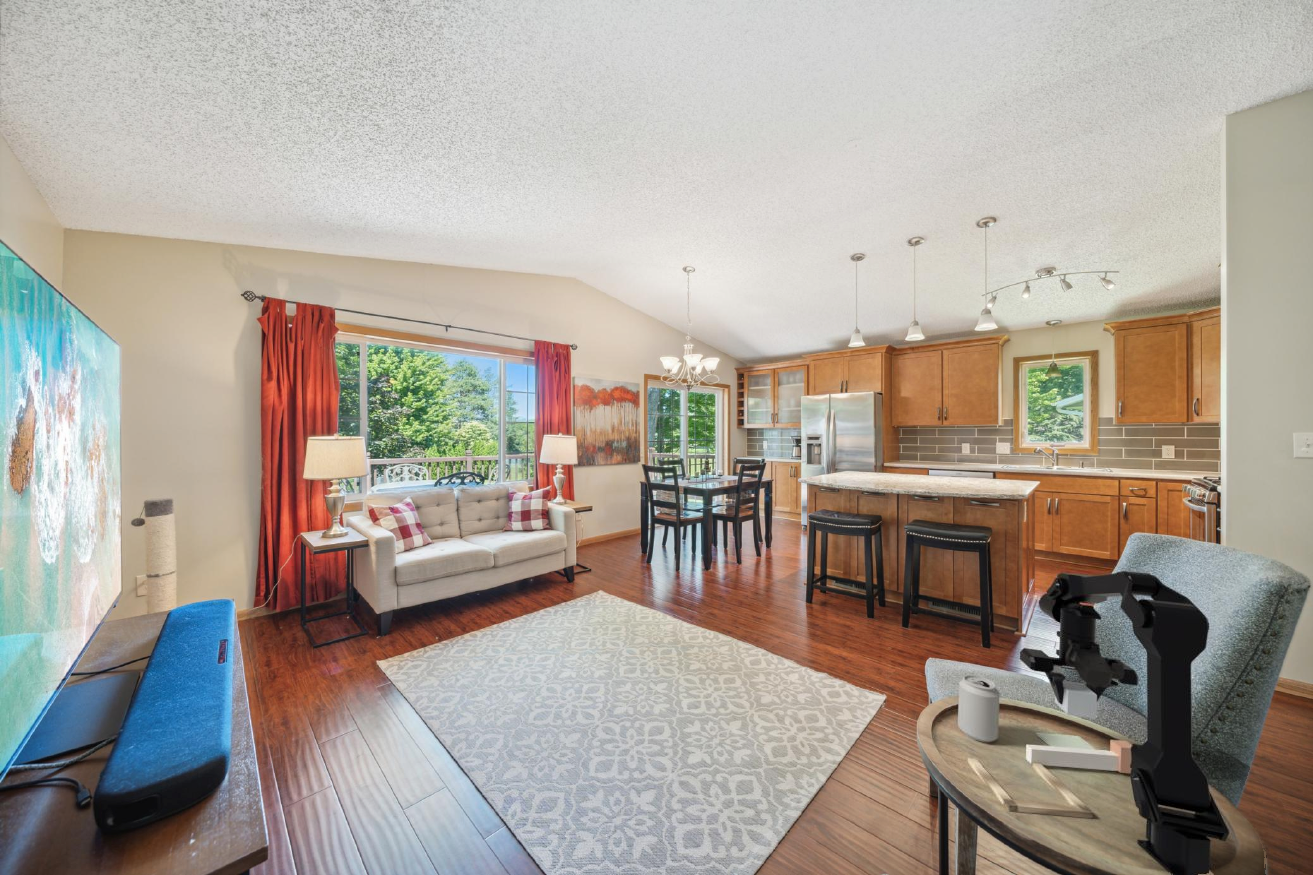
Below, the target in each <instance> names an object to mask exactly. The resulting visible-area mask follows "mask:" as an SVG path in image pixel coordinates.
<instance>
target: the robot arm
mask: <svg viewBox="0 0 1313 875" xmlns="http://www.w3.org/2000/svg"><path fill="white" fill-rule="evenodd" d="M1136 596H1144V597H1150V598H1151V599H1144V598H1142V599H1137V598H1136ZM1110 597H1121V602H1120V609H1121V610H1122V612H1123V613H1124V614H1125V615H1126V616H1127V618H1128V619H1129V620H1130V621H1131V623H1132V632H1133V634H1134V636H1135V637H1136V639H1137V640H1138V641H1139V642H1140V644H1141V646H1143V648H1144V649H1145V651H1146V682H1147V683H1146V706H1147V707H1146V712H1147V714H1146V720H1147V722H1146V723H1147V725H1146V727H1147V728H1146V729H1147V733H1146V734H1147V735H1146V736H1147V739H1146V741H1145V742H1144V743H1143V744H1138V743H1133V744H1131V745H1132V746H1131V764H1130V768H1132V769H1131V772H1130V773H1129V776H1130V777H1129V778H1130V783H1131V789H1132V796H1133V801H1134V804H1135V807H1136V808H1137V809H1138V815H1139V816H1140V817H1142V818H1143V819H1145V820H1146V829H1145V830H1146V831H1145V838H1146V839H1137V841H1136V842H1137V845H1138V846H1139V847H1141V849H1142V850H1144V851H1145V852H1146V853H1147V854H1148V855H1149V856H1151V858H1153V859H1154V860H1155V861H1156V862H1157V863H1158V864H1159V865H1160V866H1162V868H1164V869H1165V870H1166V871H1167V872H1168V873H1169V872H1170V873H1171V874H1170V873H1169V874H1170V875H1172V874H1173V875H1198V874H1207V873H1209V870H1211V869H1210V868H1211V866H1210V865H1211V862H1210V861H1211V839H1216V840H1219V841H1221V842H1226V841H1227V839H1228V837H1229V836H1230V831H1229V829H1228V827H1227V825H1226V822H1225V820H1224V818H1223V816H1222V814H1221V812H1220V810H1219V808H1218V806H1217V804H1216V802H1215V799H1214V797H1213V796H1212V793H1211V791H1210V785H1209V779H1208V777H1207V775H1206V774H1205V772H1204V771H1203V770H1202V768H1201V767H1200V765H1199V764H1198V763H1197V762H1196V761H1197V760H1195V758H1194V757H1193V756H1194V755H1193V728H1192V727H1193V721H1192V720H1193V713H1192V712H1193V709H1192V703H1193V702H1192V701H1193V700H1192V698H1193V697H1192V695H1193V694H1192V693H1193V692H1192V663H1193V662H1194V661H1195V660H1196V659H1197V658H1198V657H1199V655H1201V654H1202V653H1203V652H1204V651H1205V650H1206V648H1207V644H1208V643H1207V642H1208V636H1209V631H1210V623H1209V620H1208V619H1209V618H1208V617H1207V616H1206V614H1204V612H1202V611H1201V609H1199V607H1198V606H1196V604H1194V603H1193V601H1192V600H1191V599H1190V598H1188V597H1187V596H1185V595H1183V594H1182V593H1181V592H1178V591H1176V590H1174V589H1172V588H1171V587H1169V586H1167V585H1166V584H1164V583H1163V582H1162V581H1161V580H1160V579H1159V577H1157V576H1156V575H1154V574H1151V573H1148V572H1139V571H1138V572H1137V571H1127V570H1121V571H1117V572H1115V573H1114V572H1113V573H1106V574H1097V575H1090V574H1079V573H1069V572H1068V573H1066V572H1059V573H1058V574H1057V576H1056V577H1055V578H1054V580H1053V582H1052V583H1051V585H1050V586H1049V588H1048V589H1047V590H1046V593H1044V594H1043V595H1042V596H1040V599H1039V600H1038V607H1039V609H1040V610H1041V612H1043V614H1045V615H1046V616H1048V617H1049V618H1051V619H1052V620H1054V621H1055V622H1057V623H1059V624H1060V625H1059V630H1057V631H1056V636H1057V637H1058V638H1059V648H1058V649H1055V654H1056V655H1057V656H1058V657H1054V656H1049V655H1048V654H1046V653H1045V652H1044V651H1043V650H1042V649H1034V648H1026V647H1023V648H1022V649H1021V650H1020V651H1019V660H1020V661H1021V662H1022V663H1023V664H1024V665H1026V667H1027V668H1028V669H1029V670H1031V671H1033V672H1039V673H1040V672H1041V673H1044V674H1045V675H1046V677H1047V679H1048V681H1049V684H1050V686H1051V688H1052V691H1053V693H1054V697H1055V696H1056V698H1057V701H1058V702H1059V703H1060V704H1063V681H1065V679H1066V678H1067V676H1065V675H1064V674H1063V673H1062V669H1067V670H1075V671H1076V672H1077V674H1078V675H1079V678H1080V679H1081V680H1082V681H1084V682H1085V683H1086V684H1085V686H1087V687H1088V688H1089V689H1090V690H1091V691H1093V692H1094V693H1095V694H1096V695H1097V702H1098V701H1099V700H1100V697H1101V696H1102V695H1103V693H1104V692H1105V691H1106V689H1108V688H1111V687H1118V686H1119V683H1120V684H1123V685H1128V686H1139V675H1138V673H1137V671H1136V670H1134V669H1133V668H1131V666H1129V665H1128V664H1125V663H1123V662H1122V661H1121V660H1120V659H1116V658H1108V657H1106V656H1105V657H1103V656H1102V654H1101V649H1100V643H1097V642H1096V634H1097V633H1096V632H1097V631H1096V630H1097V620H1098V621H1099V620H1102V617H1101V614H1100V613H1099V612H1098V611H1097V610H1096V609H1095V607H1094V606H1093V604H1101V603H1103V602H1107V601H1108V598H1110ZM1087 604H1091V605H1087ZM1116 680H1117V681H1118V682H1119V683H1118V682H1117V681H1116ZM1164 806H1165V807H1164ZM1177 809H1178V810H1177ZM1192 812H1193V813H1192ZM1210 838H1211V839H1210Z"/></svg>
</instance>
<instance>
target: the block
mask: <svg viewBox="0 0 1313 875" xmlns="http://www.w3.org/2000/svg"><path fill="white" fill-rule="evenodd" d="M1054 703H1055V704H1056V705H1057V706H1058V707H1059V708H1060V709H1061V710H1062V711H1063V712H1064V713H1065V714H1067V715H1068V716H1074V717H1080V718H1086V719H1092V720H1097V710H1098V709H1097V708H1098V707H1097V706H1098V701H1097V695H1096V694H1095V693H1094V692H1093V691H1091V690H1090V689H1089V688H1088V687H1087V686H1086V684H1085V683H1081V682H1075V681H1068V680H1064V681H1063V704H1060V703H1059V702H1058V701H1057V698H1056V696H1055V695H1054Z"/></svg>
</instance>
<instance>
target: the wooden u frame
mask: <svg viewBox="0 0 1313 875" xmlns="http://www.w3.org/2000/svg"><path fill="white" fill-rule="evenodd" d="M967 764H968V765H969V766H970V767H971V769H972V770H973V771H974V773H976V774H977V776H978V777H979V778H980V780H982V781H983V783H984V784H985V785H986V786H987V787H988V788H989V790H990V791H991V792H992V793H993V794H994V796H996V798H997V799H998V800H999V801H1000V803H1001V804H1002V805H1003V806H1004V807H1005V808H1006V809H1007V811H1008V810H1009V811H1008V812H1014V813H1015V812H1016V813H1025V814H1039V815H1048V816H1050V815H1052V816H1062V817H1074V818H1083V819H1085V818H1086V819H1094V812H1093V811H1092V810H1091V809H1090V808H1089V807H1088V806H1087V805H1086V804H1084V802H1082V800H1080V799H1079V798H1078V796H1076V795H1075V794H1074V793H1073V792H1072V791H1071V790H1069V789H1068V788H1067V787H1066V786H1065V785H1064V784H1063V783H1062V782H1061V781H1060V780H1059V779H1058V778H1056V776H1055V775H1053V774H1052V773H1051V771H1049V770H1048V769H1047V768H1046V767H1045V766H1044V765H1041V764H1037V763H1033V764H1031V765H1032V769H1033V770H1034V772H1036V773H1037V774H1038V775H1039V776H1040V777H1041V778H1042V779H1043V780H1044V781H1045V782H1047V784H1049V785H1050V787H1052V789H1054V790H1055V791H1056V792H1057V793H1058V794H1059V795H1060V796H1061V797H1062V798H1063V799H1064V800H1065V801H1066V802H1067V803H1068V804H1066V803H1065V804H1064V803H1053V802H1043V801H1030V800H1020V799H1019V800H1018V799H1012V798H1011V797H1010V796H1009V794H1008V793H1007V792H1006V791H1005V789H1003V788H1002V786H1001V785H1000V784H999V783H998V782H997V781H996V779H995V778H993V777H992V775H991V774H990V773H989V772H988V770H986V768H984V766H983V765H982V764H981V763H980V761H979V760H977V759H976V758H973V757H971V758H970V757H967Z"/></svg>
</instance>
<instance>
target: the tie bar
mask: <svg viewBox="0 0 1313 875" xmlns="http://www.w3.org/2000/svg"><path fill="white" fill-rule="evenodd" d="M1109 743H1110V745H1109V747H1110V748H1109V750H1105V749H1104V750H1102V749H1096V750H1092V749H1079V748H1066V747H1053V746H1049V745H1040V744H1039V745H1037V744H1026V746H1025V747H1026V748H1025V749H1026V751H1025V752H1026V753H1025V760H1026V761H1027V762H1028V763H1029V764H1031V765H1033V763H1037V764H1041V765H1042V766H1051V767H1061V768H1062V767H1065V768H1067V767H1068V768H1076V769H1089V770H1098V771H1099V770H1101V771H1103V770H1104V771H1113V772H1115V771H1116V772H1118V773H1122V774H1130V772H1131V769H1132V768H1130V764H1131V746H1132V745H1133V744H1131V743H1130V742H1128V741H1127V740H1120V739H1119V740H1117V739H1110V742H1109Z"/></svg>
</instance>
